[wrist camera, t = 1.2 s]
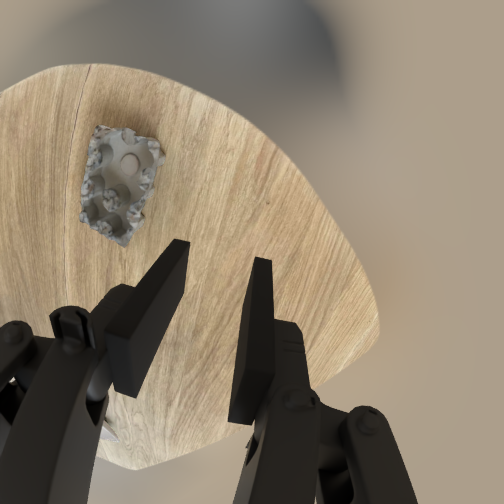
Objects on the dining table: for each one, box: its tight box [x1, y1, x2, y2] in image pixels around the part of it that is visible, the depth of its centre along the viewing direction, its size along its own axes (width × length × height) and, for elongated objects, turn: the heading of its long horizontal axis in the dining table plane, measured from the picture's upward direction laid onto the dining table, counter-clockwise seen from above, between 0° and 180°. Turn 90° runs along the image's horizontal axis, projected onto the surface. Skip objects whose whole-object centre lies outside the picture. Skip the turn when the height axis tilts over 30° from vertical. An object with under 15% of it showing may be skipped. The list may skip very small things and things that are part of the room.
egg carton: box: [79, 125, 166, 248], centre depth 24 cm, size 11×8×4 cm
